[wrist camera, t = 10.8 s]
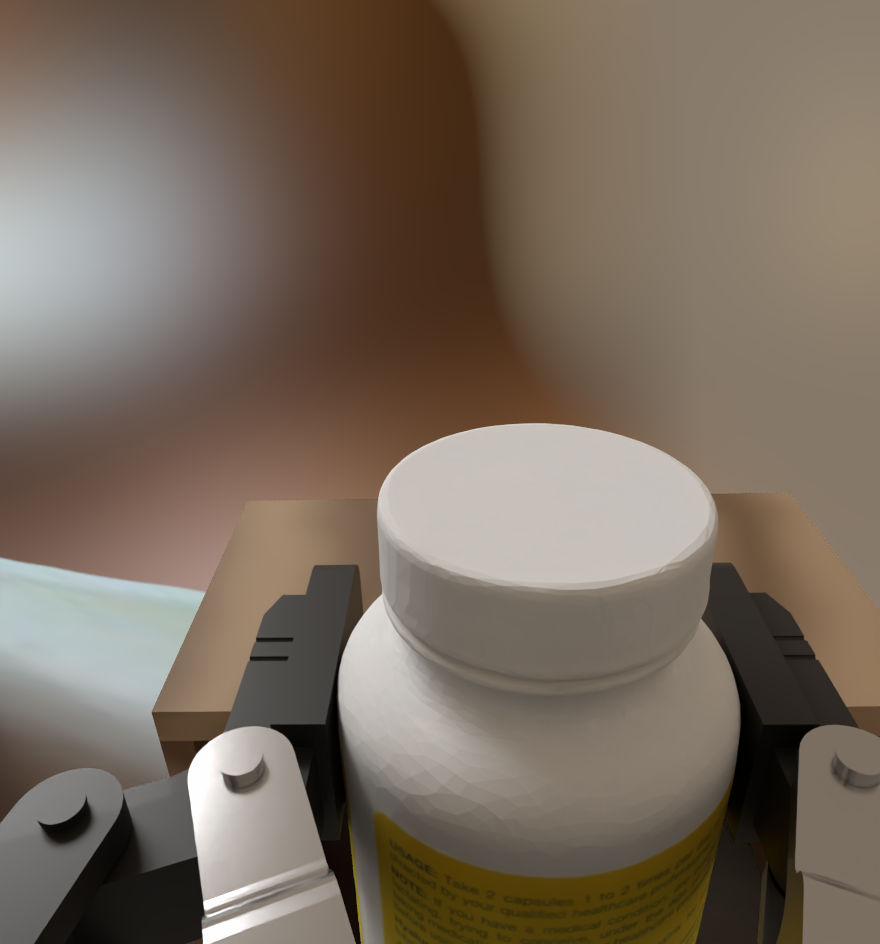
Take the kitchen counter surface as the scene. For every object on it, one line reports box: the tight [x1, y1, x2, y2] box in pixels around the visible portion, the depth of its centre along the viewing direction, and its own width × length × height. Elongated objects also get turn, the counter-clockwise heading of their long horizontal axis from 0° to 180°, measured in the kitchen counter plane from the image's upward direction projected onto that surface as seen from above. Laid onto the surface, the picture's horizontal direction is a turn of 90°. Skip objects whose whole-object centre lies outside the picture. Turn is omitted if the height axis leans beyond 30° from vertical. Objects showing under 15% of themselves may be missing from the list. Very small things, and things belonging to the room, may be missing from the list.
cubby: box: [152, 493, 880, 877], centre depth 31 cm, size 23×12×15 cm, turn 89°
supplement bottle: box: [336, 423, 741, 944], centre depth 11 cm, size 5×5×10 cm
